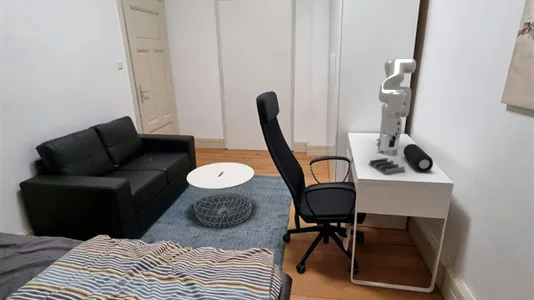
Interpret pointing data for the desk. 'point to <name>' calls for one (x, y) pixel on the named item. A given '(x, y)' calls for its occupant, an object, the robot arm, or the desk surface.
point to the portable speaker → (418, 157)
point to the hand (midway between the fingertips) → (389, 145)
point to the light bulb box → (389, 152)
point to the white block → (385, 143)
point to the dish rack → (386, 166)
